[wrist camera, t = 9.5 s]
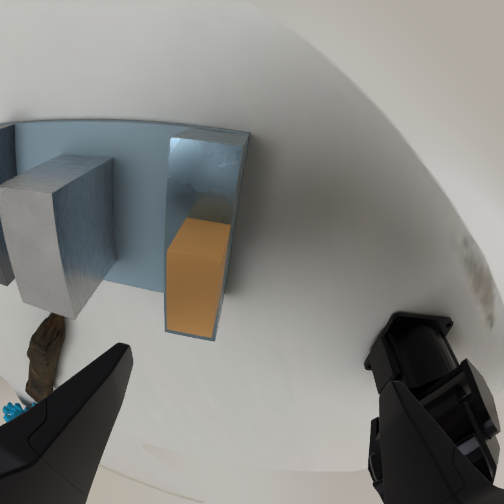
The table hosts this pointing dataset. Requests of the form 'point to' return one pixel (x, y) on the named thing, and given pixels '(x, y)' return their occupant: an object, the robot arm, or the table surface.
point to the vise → (125, 183)
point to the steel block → (60, 230)
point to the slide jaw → (199, 227)
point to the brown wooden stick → (44, 356)
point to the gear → (13, 411)
